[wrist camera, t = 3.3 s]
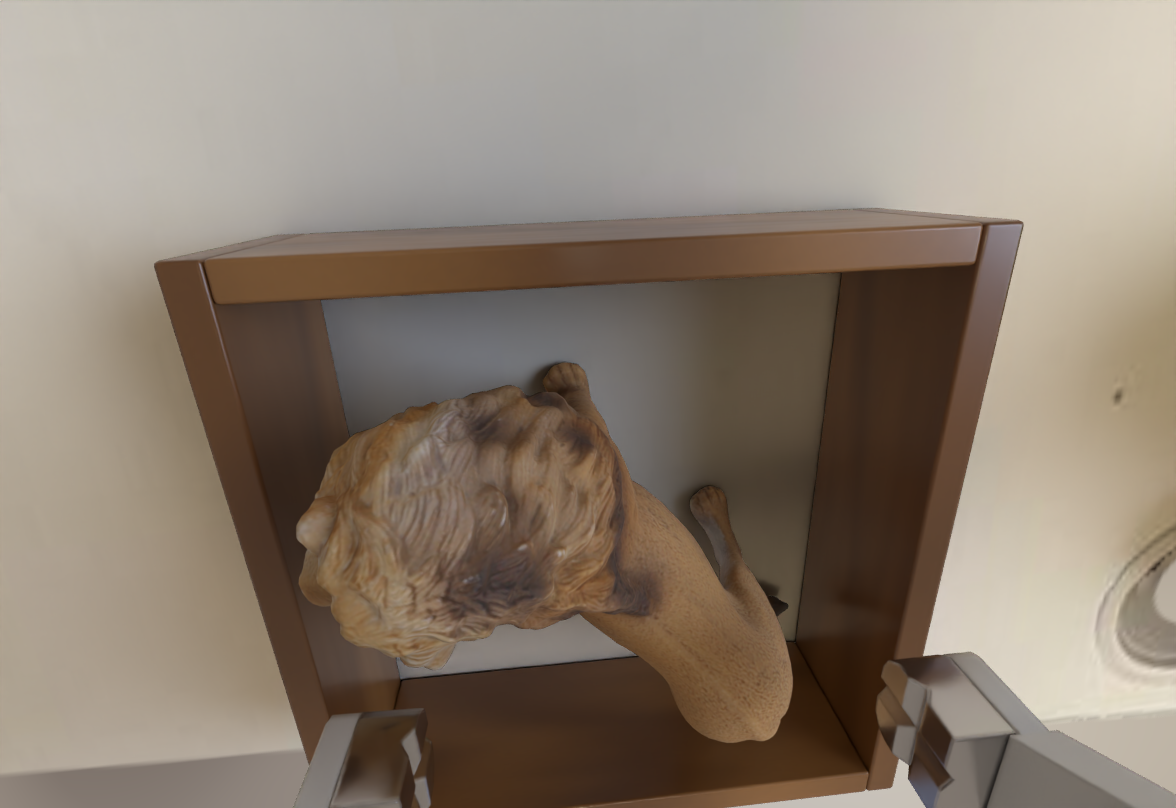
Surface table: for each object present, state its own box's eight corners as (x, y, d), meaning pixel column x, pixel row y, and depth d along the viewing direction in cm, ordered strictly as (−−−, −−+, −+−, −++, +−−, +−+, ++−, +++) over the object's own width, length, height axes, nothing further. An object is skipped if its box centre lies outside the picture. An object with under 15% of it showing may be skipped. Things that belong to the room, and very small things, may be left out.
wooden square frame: (381, 698, 20) (335, 855, 15) (274, 234, 14) (149, 261, 10) (813, 655, 21) (893, 789, 16) (877, 207, 15) (1027, 220, 11)
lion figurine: (356, 424, 16) (170, 683, 8) (461, 271, 15) (370, 388, 7) (729, 642, 20) (864, 962, 12) (835, 538, 19) (1068, 814, 11)
